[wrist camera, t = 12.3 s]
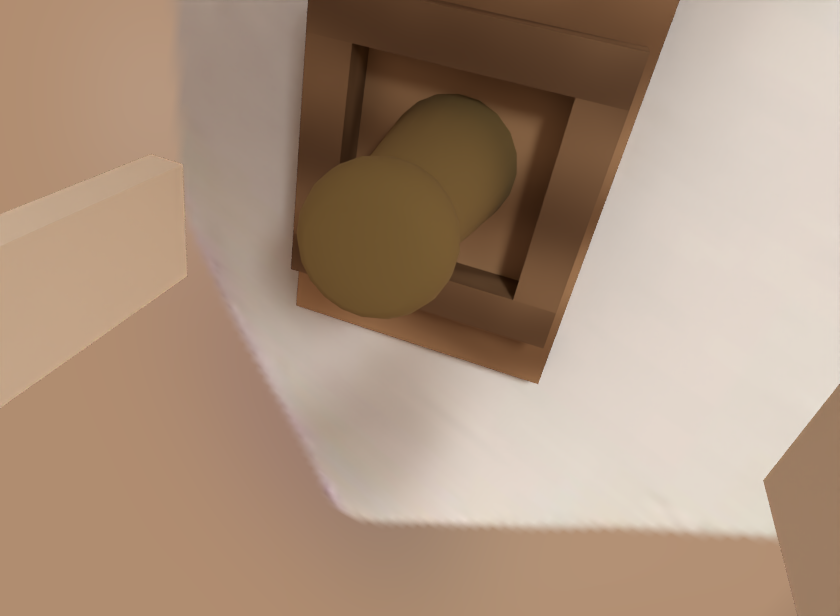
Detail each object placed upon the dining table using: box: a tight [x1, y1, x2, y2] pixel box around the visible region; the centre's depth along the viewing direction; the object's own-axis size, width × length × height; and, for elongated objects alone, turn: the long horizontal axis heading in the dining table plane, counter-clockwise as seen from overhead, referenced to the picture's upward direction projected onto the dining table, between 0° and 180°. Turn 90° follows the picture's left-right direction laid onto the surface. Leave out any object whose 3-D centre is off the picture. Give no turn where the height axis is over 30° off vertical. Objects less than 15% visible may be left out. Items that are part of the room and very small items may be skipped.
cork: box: [297, 94, 517, 319], centre depth 22 cm, size 6×6×11 cm
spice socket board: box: [291, 0, 680, 384], centre depth 26 cm, size 20×14×3 cm
